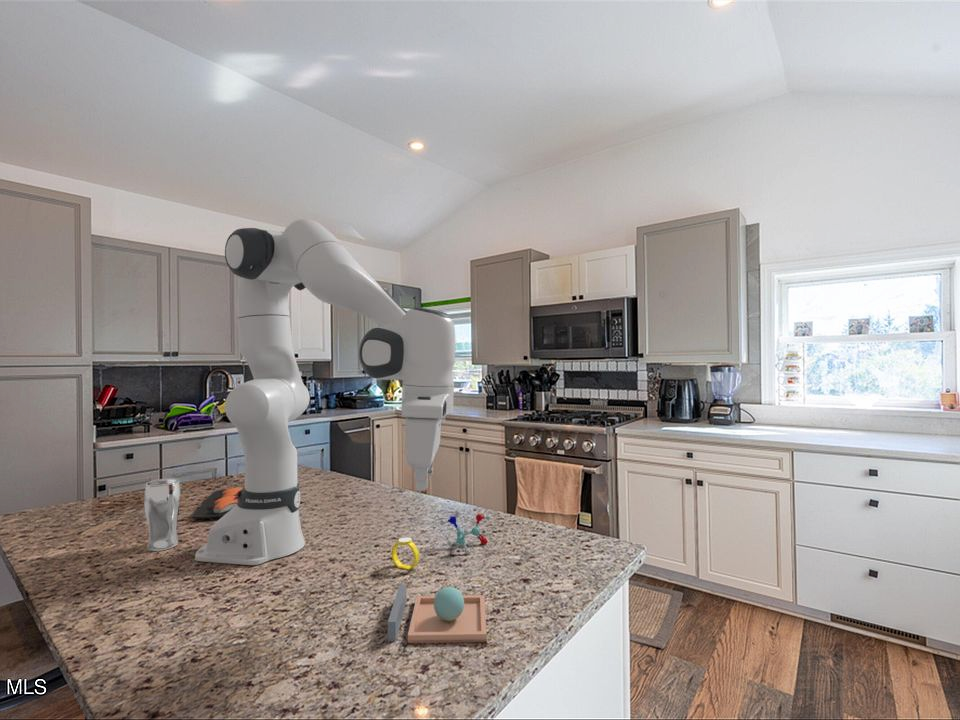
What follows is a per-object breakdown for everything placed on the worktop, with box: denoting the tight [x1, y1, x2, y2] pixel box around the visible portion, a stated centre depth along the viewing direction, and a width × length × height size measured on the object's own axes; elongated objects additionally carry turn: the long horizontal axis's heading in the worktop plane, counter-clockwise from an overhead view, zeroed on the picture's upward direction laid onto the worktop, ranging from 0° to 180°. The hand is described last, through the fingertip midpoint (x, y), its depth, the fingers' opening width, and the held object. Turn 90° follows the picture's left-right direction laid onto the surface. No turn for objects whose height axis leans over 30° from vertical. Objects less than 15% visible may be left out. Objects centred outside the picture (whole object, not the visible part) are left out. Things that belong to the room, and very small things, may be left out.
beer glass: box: [143, 477, 181, 552], centre depth 110 cm, size 7×7×15 cm
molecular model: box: [439, 509, 492, 555], centre depth 110 cm, size 12×10×10 cm
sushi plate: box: [192, 487, 305, 520], centre depth 145 cm, size 29×30×4 cm
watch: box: [391, 536, 420, 571], centre depth 99 cm, size 6×3×6 cm, turn 65°
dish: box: [407, 594, 488, 644], centre depth 78 cm, size 12×12×1 cm
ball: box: [434, 586, 464, 621], centre depth 78 cm, size 5×5×5 cm
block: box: [387, 584, 407, 643], centre depth 79 cm, size 1×12×3 cm, turn 1°
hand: (424, 482), depth 82 cm, fingers open, 8 cm apart
